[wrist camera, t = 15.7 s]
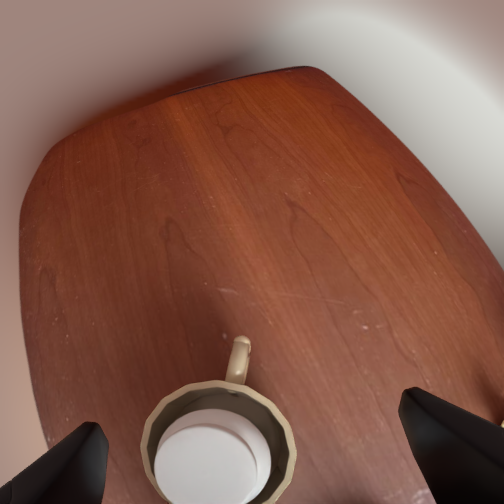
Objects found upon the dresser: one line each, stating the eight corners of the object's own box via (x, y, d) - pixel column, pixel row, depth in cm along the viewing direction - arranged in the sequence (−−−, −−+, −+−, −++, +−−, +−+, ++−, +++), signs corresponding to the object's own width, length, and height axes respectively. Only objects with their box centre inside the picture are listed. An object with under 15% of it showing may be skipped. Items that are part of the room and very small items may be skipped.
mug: (272, 506, 16) (279, 531, 12) (156, 481, 17) (129, 496, 12) (301, 360, 22) (315, 342, 17) (189, 339, 23) (172, 316, 18)
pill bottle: (200, 492, 16) (164, 540, 8) (174, 423, 19) (117, 424, 10) (277, 470, 17) (296, 507, 9) (248, 400, 20) (246, 388, 11)
